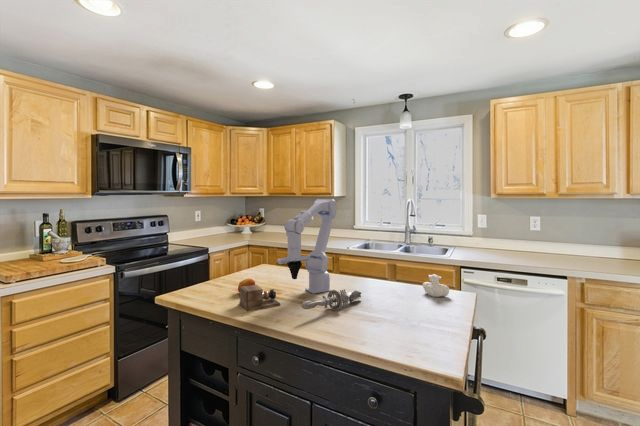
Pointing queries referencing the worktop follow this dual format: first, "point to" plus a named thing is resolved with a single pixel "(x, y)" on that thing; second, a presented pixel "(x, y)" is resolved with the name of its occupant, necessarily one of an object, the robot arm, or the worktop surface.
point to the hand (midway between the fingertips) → (294, 278)
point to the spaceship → (333, 300)
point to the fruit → (246, 283)
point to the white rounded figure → (435, 287)
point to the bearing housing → (255, 298)
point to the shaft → (269, 294)
